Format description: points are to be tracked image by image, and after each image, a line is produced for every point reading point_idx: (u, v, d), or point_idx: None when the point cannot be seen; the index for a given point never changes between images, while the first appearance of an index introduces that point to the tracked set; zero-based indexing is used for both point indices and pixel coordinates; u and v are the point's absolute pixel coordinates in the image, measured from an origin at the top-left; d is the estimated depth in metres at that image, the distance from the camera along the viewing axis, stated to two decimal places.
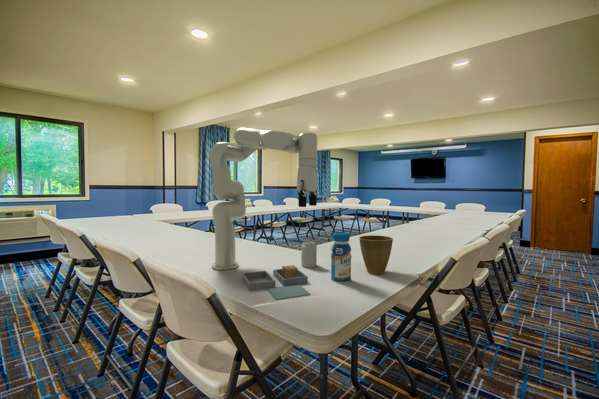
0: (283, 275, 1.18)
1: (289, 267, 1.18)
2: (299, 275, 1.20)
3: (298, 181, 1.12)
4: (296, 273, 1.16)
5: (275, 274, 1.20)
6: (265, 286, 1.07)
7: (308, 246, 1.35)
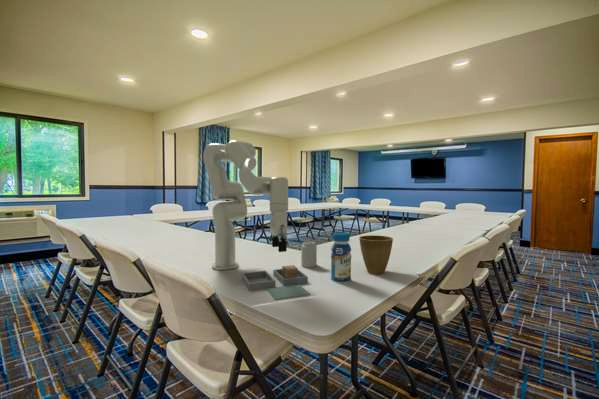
0: (283, 275, 1.18)
1: (289, 267, 1.18)
2: (299, 275, 1.20)
3: (278, 226, 1.10)
4: (296, 273, 1.16)
5: (275, 274, 1.20)
6: (265, 286, 1.07)
7: (308, 246, 1.35)
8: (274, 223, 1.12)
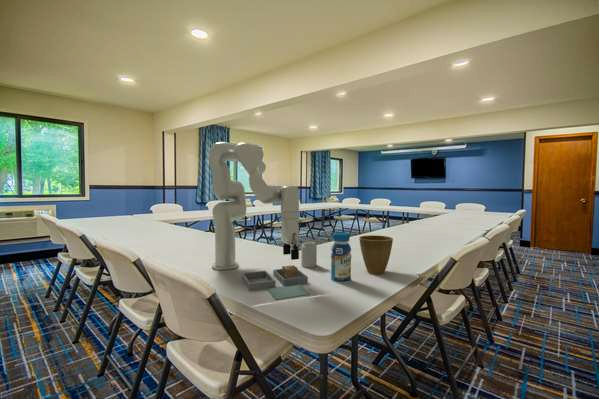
0: (283, 275, 1.18)
1: (289, 267, 1.18)
2: (299, 275, 1.20)
3: (290, 234, 1.12)
4: (296, 273, 1.16)
5: (275, 274, 1.20)
6: (265, 286, 1.07)
7: (308, 246, 1.35)
8: (286, 231, 1.13)
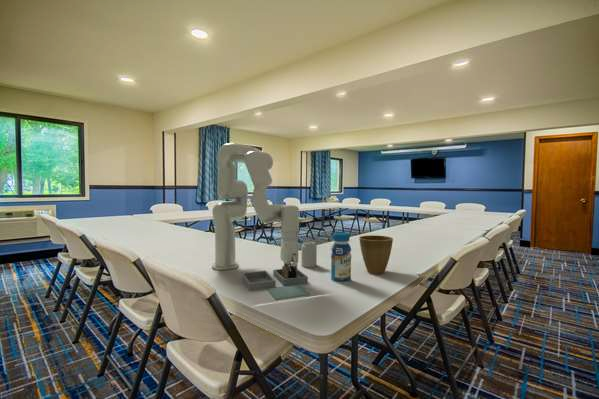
0: (283, 275, 1.18)
1: None
2: (299, 275, 1.20)
3: (290, 255, 1.12)
4: (296, 273, 1.16)
5: (275, 274, 1.20)
6: (265, 286, 1.07)
7: (308, 246, 1.35)
8: (286, 251, 1.14)
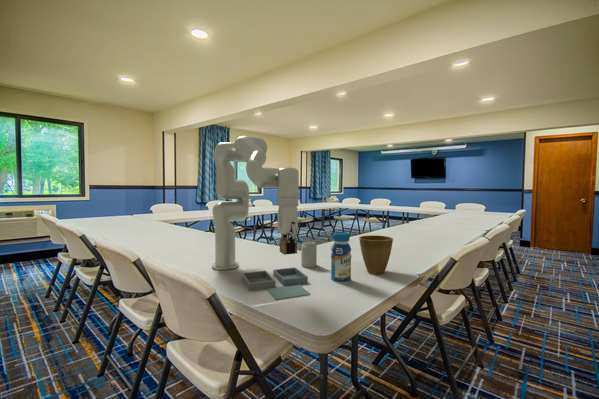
0: (281, 248, 1.03)
1: None
2: (299, 275, 1.20)
3: (288, 223, 0.97)
4: (295, 245, 1.01)
5: (275, 274, 1.20)
6: (265, 286, 1.07)
7: (308, 246, 1.35)
8: (283, 220, 0.99)
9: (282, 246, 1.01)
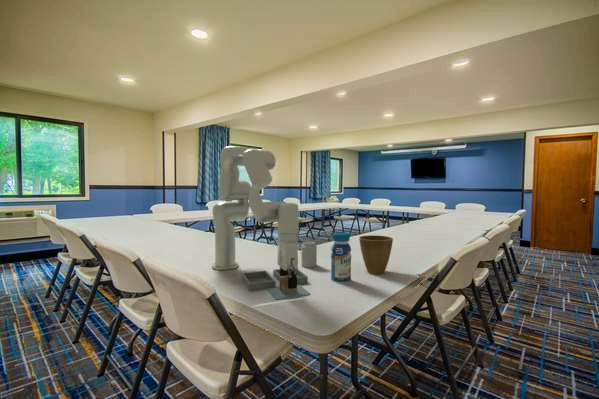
0: (280, 286, 1.04)
1: (287, 277, 1.03)
2: (299, 275, 1.20)
3: (288, 260, 0.98)
4: None
5: (275, 274, 1.20)
6: (265, 286, 1.07)
7: (308, 246, 1.35)
8: (283, 256, 0.99)
9: (282, 285, 1.02)
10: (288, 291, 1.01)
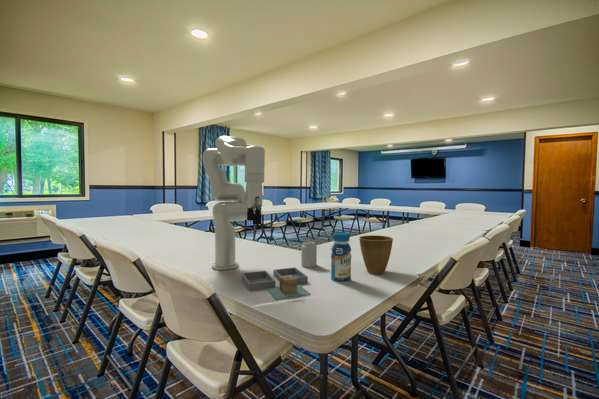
0: (280, 286, 1.04)
1: (287, 277, 1.03)
2: (299, 275, 1.20)
3: (253, 197, 1.05)
4: (295, 284, 1.02)
5: (275, 274, 1.20)
6: (265, 286, 1.07)
7: (308, 246, 1.35)
8: (249, 194, 1.07)
9: (282, 285, 1.02)
10: (288, 291, 1.01)
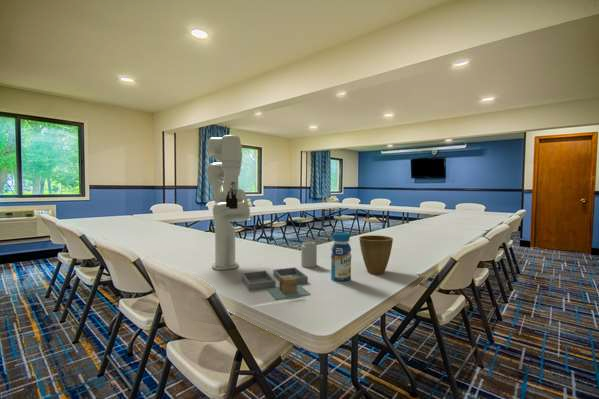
0: (280, 286, 1.04)
1: (287, 277, 1.03)
2: (299, 275, 1.20)
3: (228, 183, 1.11)
4: (295, 284, 1.02)
5: (275, 274, 1.20)
6: (265, 286, 1.07)
7: (308, 246, 1.35)
8: (225, 180, 1.12)
9: (282, 285, 1.02)
10: (288, 291, 1.01)
